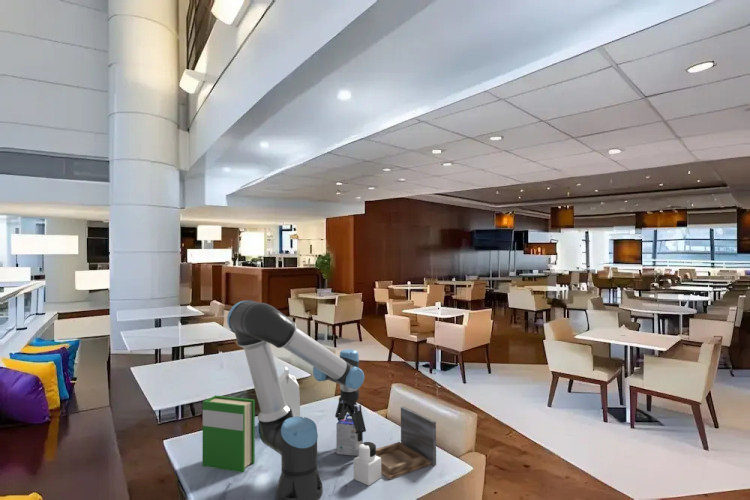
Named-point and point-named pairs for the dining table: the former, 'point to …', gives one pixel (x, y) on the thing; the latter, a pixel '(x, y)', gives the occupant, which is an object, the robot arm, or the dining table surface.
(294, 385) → the milk
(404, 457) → the wall dock
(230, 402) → the hardback book
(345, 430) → the ink cartridge box
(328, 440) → the dining table surface
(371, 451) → the medicine bottle
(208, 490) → the dining table surface
